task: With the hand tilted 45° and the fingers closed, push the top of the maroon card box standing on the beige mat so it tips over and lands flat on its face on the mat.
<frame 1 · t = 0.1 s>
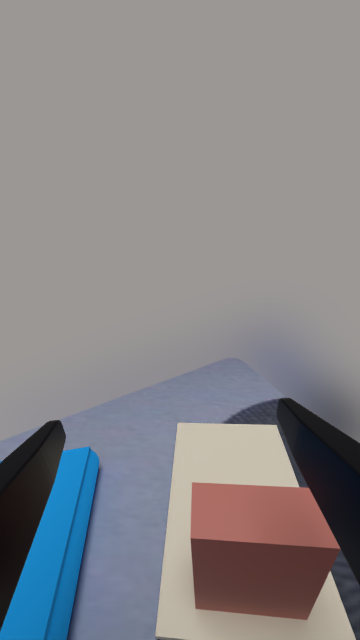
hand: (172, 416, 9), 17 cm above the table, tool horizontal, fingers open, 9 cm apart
card box: (246, 584, 16), resting on mat
mat: (235, 499, 21), on the table
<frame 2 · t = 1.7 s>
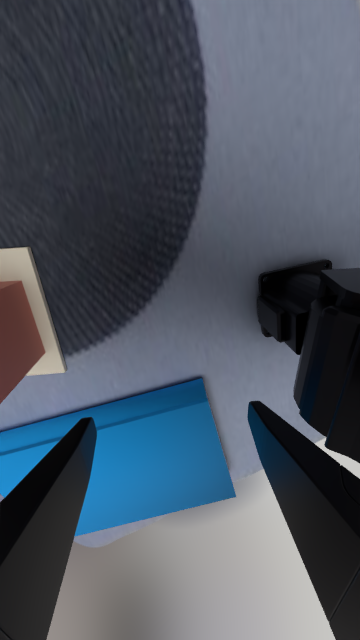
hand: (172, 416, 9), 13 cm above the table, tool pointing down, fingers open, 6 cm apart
book: (122, 447, 29), on the table
card box: (19, 320, 20), resting on mat
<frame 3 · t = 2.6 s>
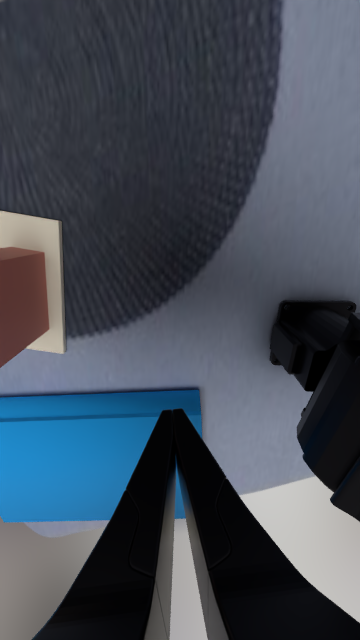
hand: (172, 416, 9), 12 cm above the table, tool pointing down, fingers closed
book: (100, 441, 28), on the table
card box: (31, 291, 20), resting on mat
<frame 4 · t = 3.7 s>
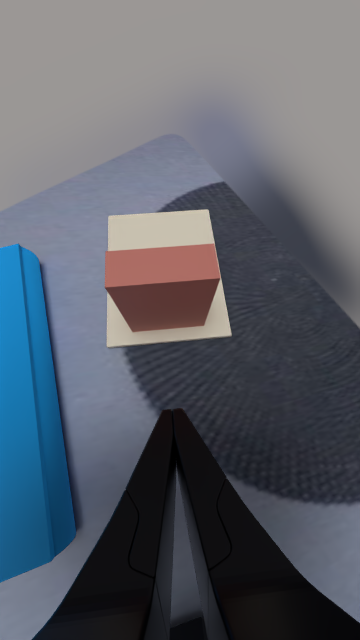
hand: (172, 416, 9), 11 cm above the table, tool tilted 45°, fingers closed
card box: (167, 316, 23), resting on mat
mat: (164, 272, 25), on the table
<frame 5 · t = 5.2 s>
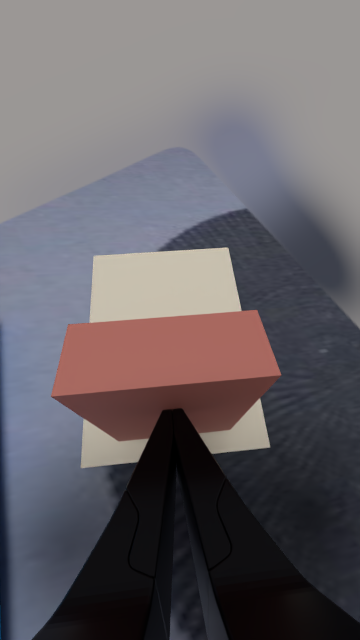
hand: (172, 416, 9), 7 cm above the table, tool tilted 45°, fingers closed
card box: (173, 413, 15), point 1 cm above the table, tilted 14°, touching mat
mat: (168, 338, 18), on the table
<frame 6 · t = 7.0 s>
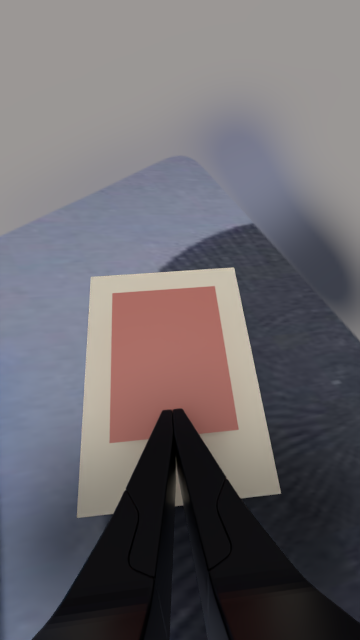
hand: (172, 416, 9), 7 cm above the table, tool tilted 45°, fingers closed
card box: (175, 433, 13), point 2 cm above the table, tilted 90°, touching mat
mat: (171, 369, 17), on the table
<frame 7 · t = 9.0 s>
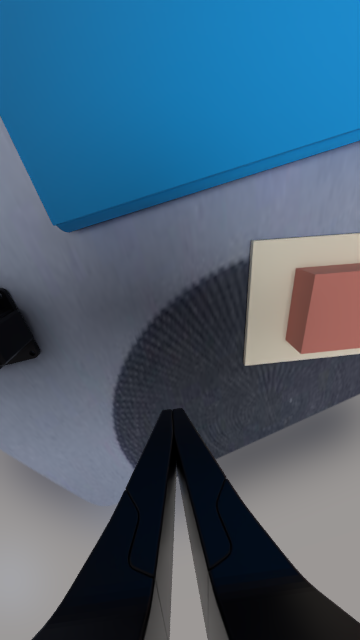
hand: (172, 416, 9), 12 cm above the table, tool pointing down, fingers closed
book: (205, 31, 14), on the table
card box: (298, 311, 20), point 2 cm above the table, tilted 90°, touching mat
mat: (328, 301, 21), on the table
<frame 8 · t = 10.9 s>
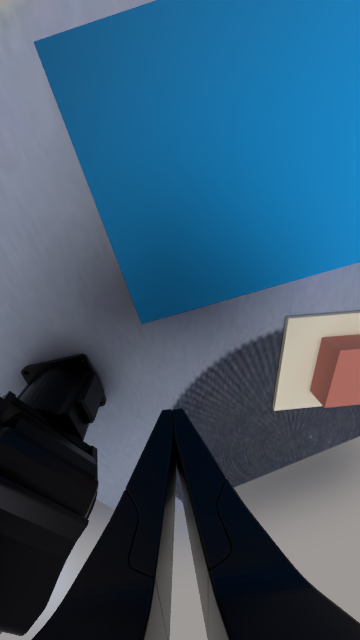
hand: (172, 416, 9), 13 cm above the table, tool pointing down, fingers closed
book: (260, 174, 18), on the table
card box: (323, 372, 24), point 2 cm above the table, tilted 90°, touching mat
mat: (347, 360, 25), on the table
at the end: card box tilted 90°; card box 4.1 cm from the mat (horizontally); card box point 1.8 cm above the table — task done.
